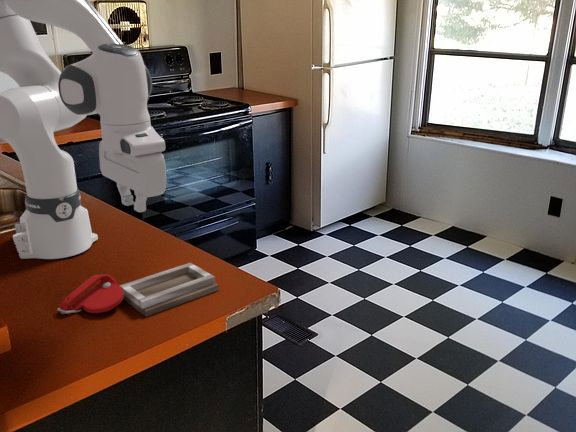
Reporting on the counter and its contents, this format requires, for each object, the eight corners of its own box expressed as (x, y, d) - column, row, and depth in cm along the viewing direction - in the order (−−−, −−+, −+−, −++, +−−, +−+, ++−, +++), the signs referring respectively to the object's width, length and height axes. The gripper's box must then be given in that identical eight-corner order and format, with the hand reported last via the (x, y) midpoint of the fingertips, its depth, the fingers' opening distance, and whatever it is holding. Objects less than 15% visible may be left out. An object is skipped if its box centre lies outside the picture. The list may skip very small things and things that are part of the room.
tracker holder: (120, 316, 115) (130, 286, 124) (114, 298, 113) (125, 268, 122) (57, 323, 116) (72, 292, 125) (51, 304, 114) (66, 274, 122)
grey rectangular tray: (117, 295, 124) (116, 283, 123) (188, 271, 135) (187, 260, 134) (146, 316, 116) (145, 304, 115) (218, 290, 126) (218, 278, 125)
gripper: (87, 130, 115) (95, 198, 120) (137, 148, 101) (144, 225, 105) (117, 125, 119) (124, 192, 124) (170, 143, 105) (175, 217, 109)
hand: (134, 207), depth 115 cm, fingers open, 4 cm apart
